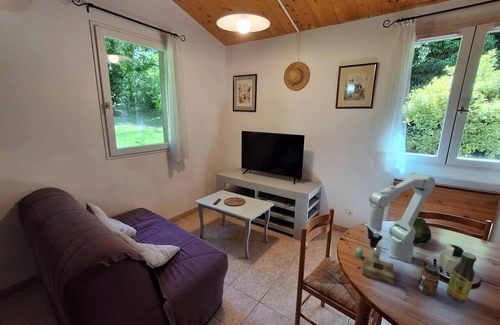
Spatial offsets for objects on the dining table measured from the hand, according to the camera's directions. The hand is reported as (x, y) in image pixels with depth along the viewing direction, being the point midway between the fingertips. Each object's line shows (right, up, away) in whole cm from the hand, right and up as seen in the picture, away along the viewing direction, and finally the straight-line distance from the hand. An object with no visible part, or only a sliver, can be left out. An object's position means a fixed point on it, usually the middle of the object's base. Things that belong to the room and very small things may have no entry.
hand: (371, 243), depth 109 cm
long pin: (+3, -10, +3) cm, 11 cm away
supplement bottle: (+15, -15, -15) cm, 26 cm away
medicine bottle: (+36, -12, -3) cm, 38 cm away
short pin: (-3, -9, +7) cm, 12 cm away
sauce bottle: (+24, -15, -19) cm, 34 cm away
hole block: (0, -12, -5) cm, 13 cm away
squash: (+36, -6, +21) cm, 42 cm away
